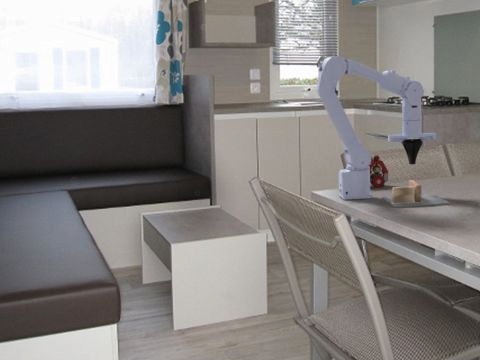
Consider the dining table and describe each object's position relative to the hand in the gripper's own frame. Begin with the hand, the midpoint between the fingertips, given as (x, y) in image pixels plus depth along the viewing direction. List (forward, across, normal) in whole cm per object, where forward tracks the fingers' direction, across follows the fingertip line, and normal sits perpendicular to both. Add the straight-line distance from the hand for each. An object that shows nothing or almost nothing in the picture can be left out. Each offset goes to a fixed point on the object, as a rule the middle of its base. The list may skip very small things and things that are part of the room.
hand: (412, 164), depth 219 cm
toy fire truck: (+10, +9, -18) cm, 22 cm away
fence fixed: (+9, +6, +15) cm, 18 cm away
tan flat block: (+9, +2, +10) cm, 13 cm away
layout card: (+9, +3, +12) cm, 16 cm away
